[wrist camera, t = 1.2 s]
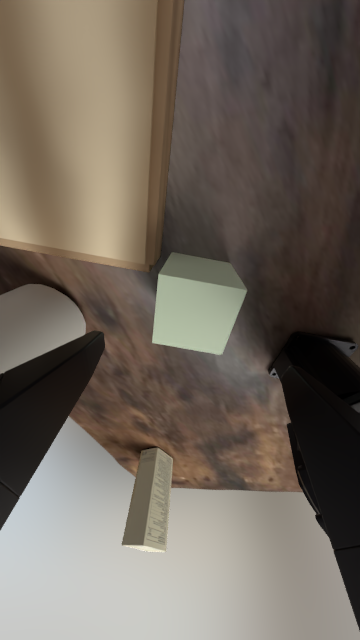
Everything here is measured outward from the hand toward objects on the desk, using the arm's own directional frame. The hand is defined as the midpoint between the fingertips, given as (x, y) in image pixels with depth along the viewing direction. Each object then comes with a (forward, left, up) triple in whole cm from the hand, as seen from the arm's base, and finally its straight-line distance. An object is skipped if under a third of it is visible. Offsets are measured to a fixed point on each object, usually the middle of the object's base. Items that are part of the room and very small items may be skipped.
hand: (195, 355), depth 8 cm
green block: (0, 0, -9) cm, 9 cm away
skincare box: (0, +38, -9) cm, 39 cm away
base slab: (+10, -8, -9) cm, 16 cm away
